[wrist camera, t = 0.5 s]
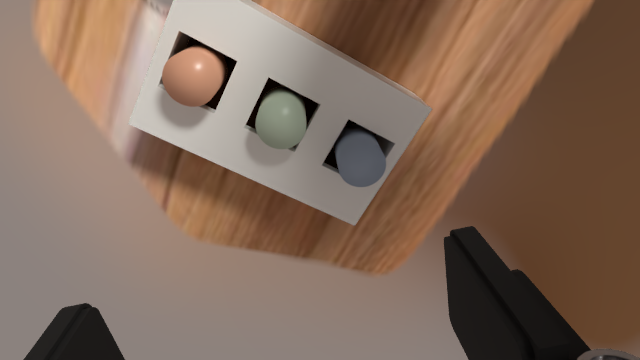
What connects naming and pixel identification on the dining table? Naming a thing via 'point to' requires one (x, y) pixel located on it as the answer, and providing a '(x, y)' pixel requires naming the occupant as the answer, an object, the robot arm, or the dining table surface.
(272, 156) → the console
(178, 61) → the terracotta button
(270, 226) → the dining table surface
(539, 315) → the robot arm
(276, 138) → the sage button
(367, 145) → the slate button
